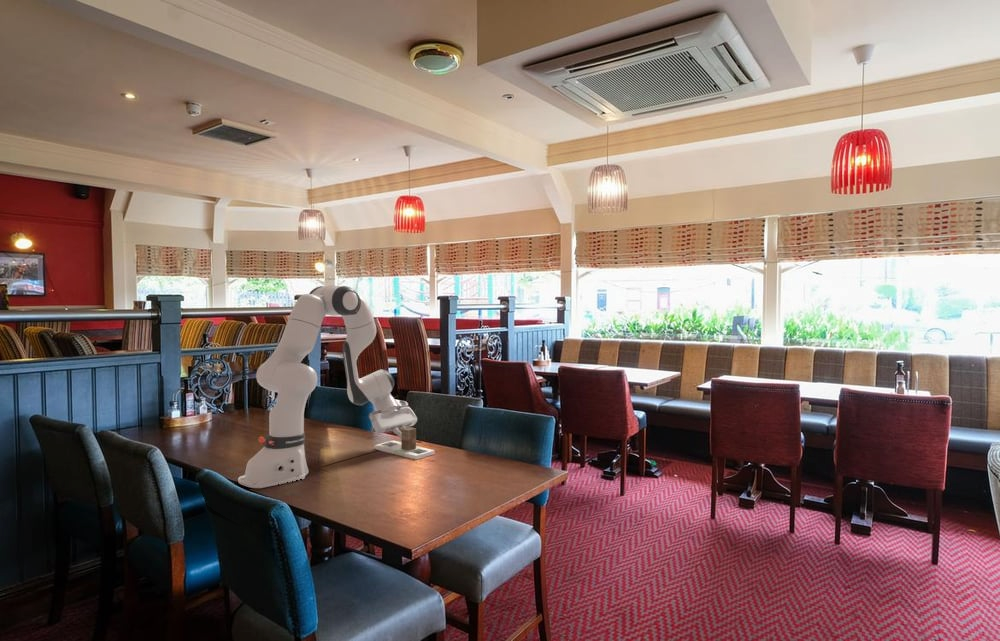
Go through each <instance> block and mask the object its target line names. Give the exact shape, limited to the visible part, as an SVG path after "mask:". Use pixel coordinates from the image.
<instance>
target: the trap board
mask: <svg viewBox="0 0 1000 641" xmlns="http://www.w3.org/2000/svg"><path fill="white" fill-rule="evenodd" d="M373 449H374V450H378V451H380V452H384V453H388V454H392V455H396V456H400V457H405V458H407V459H411V460H414V461H415V460H420V459H424V458H426V457H430V456H434V455H435V453H436V452H435V451H436V450H434V449H430V448H427V447H422V446H419V445H418V446H417V445H416V449H413V450H409V451H407V450H403V449H401V441H398V440H394V439H393V440H390V441H385V442H382V443H378V444H375V445H374V448H373Z"/></svg>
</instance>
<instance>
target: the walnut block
mask: <svg viewBox="0 0 1000 641" xmlns="http://www.w3.org/2000/svg"><path fill="white" fill-rule="evenodd" d="M401 432H402V438H401V439H400V440H401V441H400V442H401V449H403V450H407V451H409V450H413V449H416V446H417V428H414V427H412V426H409V427H406V428H403V429H402V431H401Z"/></svg>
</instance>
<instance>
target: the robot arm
mask: <svg viewBox="0 0 1000 641" xmlns="http://www.w3.org/2000/svg"><path fill="white" fill-rule="evenodd" d="M326 315H327V316H333V317H335V316H337V317H338V316H340V317H341V318H342V319H343V322H344V326H345V329H346V338H345V341H344V342H343V343H342V356H343V364H344V371H345V378H346V393H347V396H348V399H349V401H350V402H351V403H352V404H354V405H356V406H364V405H365V404H367V403H369V402H370V403H371V404H372V405H373V408H374V411H371V412H370V413H369V414H368V419H369V420H370V421H371V425H372V427H373V429H374V431H375V433H377V434H385V433H388V432H393V433H394V434H396V435H397V436H398V437H399V439H402V429H403V428H407V427H414V426H415V425H416V423H417V422H418V417H417V415H416V414H415V412H414V411H413V409H412V408H411V407H410V406H409V402H407V401H405V400H400V399H395V397H394V396H393V395H392V393H391V392H392V391H393V389H394V386H395V379H394V377H393V376H392V374H391V373H390V371H388V370H386V369H383V368H382V369H378V370H376V371H374V372H372V373H371V372H370V374H367V375H365V376H363V377H361V378H359V373H358V365H357V359H358V357H359V356H360V354H361V353H362V352H363V351H364V350H365V349H366V348H368V347H369V346H370V345H371V344H372V343H373V341H374V340H375V338H376V335H377V330H378V329H377V325H376V321H375V319H374V316H373V313H372V311H371V308H370V306H369V304H368V302H367V300H366V299H365V298H364V296H362V295H359V293H358V292H357V291H356V290H355V289H354V288H353V287H350V286H346V285H343V286H342V285H333V284H331V285H325V286H324V285H322V286H321V285H320V286H317V287H315V288H313V289H312V290H311V291H310V292H309V293H303V294H302V295H300V296H299V297H298V298H297V300H296V302H295V303H294V306H293V308H292V310H291V312H290V314H289V317H288V318H287V319H288V320H287V322H286V325H285V328H284V331H283V333H282V337H281V338H280V341H279V342H278V345H277V346H276V348H275V349H274V351H273V352H272V354H271V355H270V356H269V358H267V359H266V361H264V362H263V363H262V364H260V365H259V366H258V368H257V369H256V374H255V377H256V382H257V383H258V385H259V386H260V387H262V388H264V389H265V390H267V391H270V392H274V393H277V399H276V402H275V404H274V407H272V408H271V409H270V411H269V414H268V416H269V417H268V419H269V420H268V425H269V427H268V428H269V430H268V431H269V433H268V435H267V437H264V436H259V437H258V440H257V441H258V443H260V444H264V445H263V447H262V448H261V449H260V450H259V451H258V452H257V453H256V454H254V456H252V457H251V458H250V459H249V460H248V461H247V462H246V466H245V467H246V468H245V472H244V475H240V476H239V477H238V479H237V482H238V484H240V485H242V486H245V487H248V488H252V489H264V488H268V487H273V486H278V484H279V485H282V484H283V485H284V484H288V483H292V481H293V482H297V481H296V480H298V481H301V480H300V479H302V480H305V478H306V476H307V475H308V474H309V472H310V471H309V468H308V465H307V460H306V452H305V445H306V432H305V431H304V429H305V428H304V426H305V425H304V424H305V408H306V403H307V402H308V401H307V400H308V398H309V396H310V394H311V393H313V391H314V390H315V389H316V387H317V384H318V381H319V380H318V374H317V372H316V369H314V368H313V367H312V366H309V365H307V364H305V363H302V362H303V359H305V357H307V355H309V354H310V353H311V352H312V351H313V350H314V349H315V344H316V342H317V339H318V336H319V333H320V329H321V326H322V322H323V319H325V317H326ZM287 482H288V483H287Z"/></svg>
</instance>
